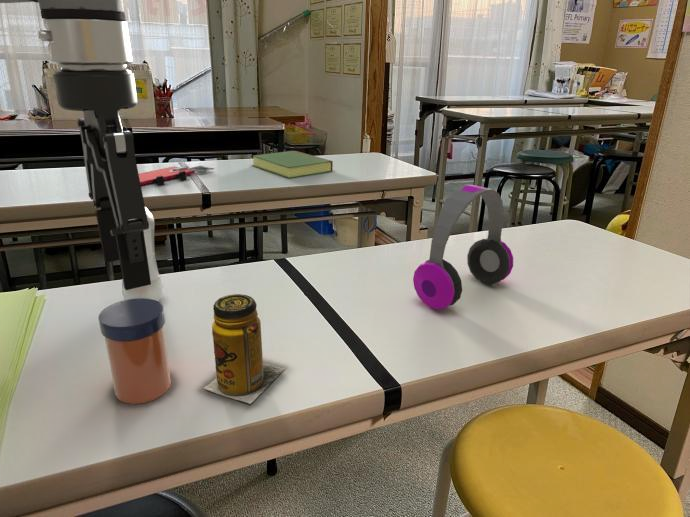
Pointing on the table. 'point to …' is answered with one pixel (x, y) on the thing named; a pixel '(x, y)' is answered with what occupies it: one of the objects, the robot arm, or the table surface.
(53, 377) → the table surface
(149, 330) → the lid
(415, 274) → the headphones
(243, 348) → the condiment
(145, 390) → the jar
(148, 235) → the plastic bottle
